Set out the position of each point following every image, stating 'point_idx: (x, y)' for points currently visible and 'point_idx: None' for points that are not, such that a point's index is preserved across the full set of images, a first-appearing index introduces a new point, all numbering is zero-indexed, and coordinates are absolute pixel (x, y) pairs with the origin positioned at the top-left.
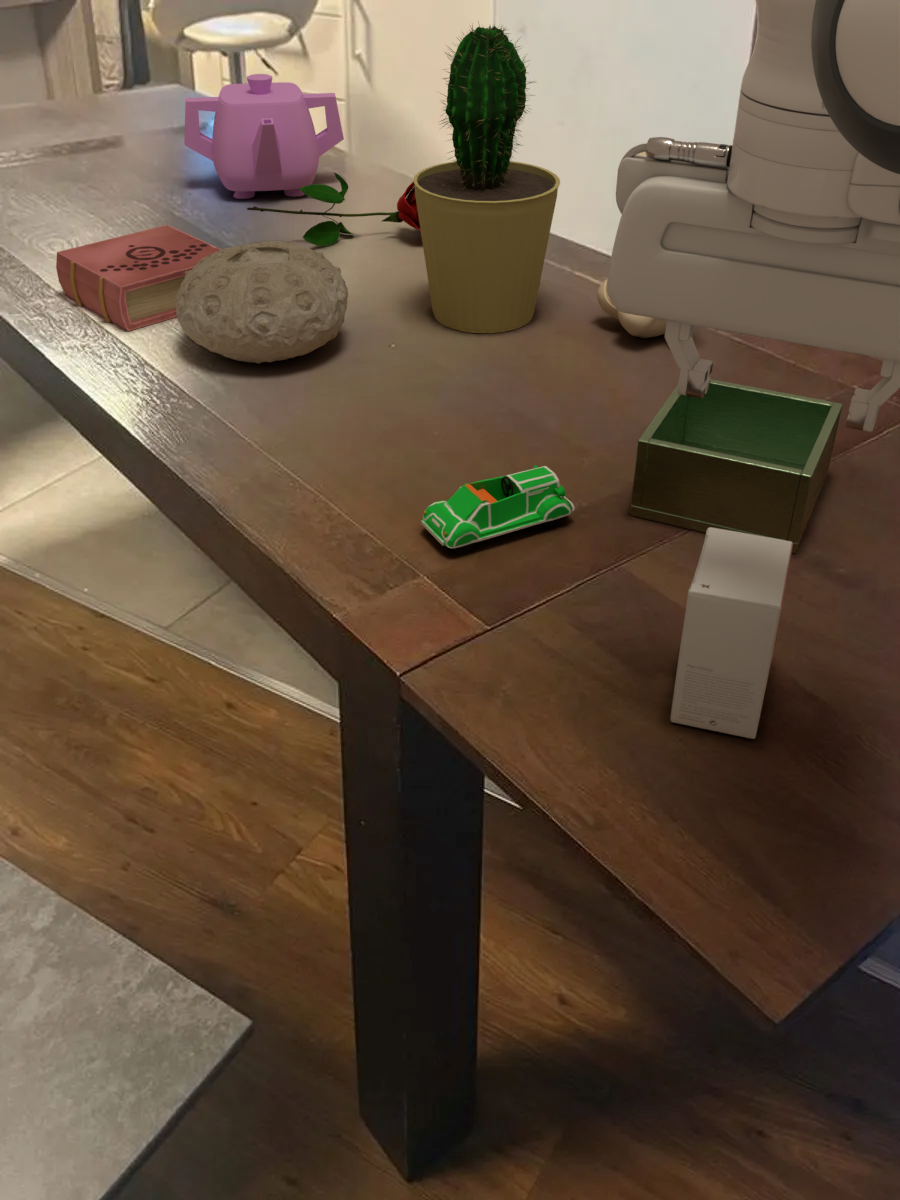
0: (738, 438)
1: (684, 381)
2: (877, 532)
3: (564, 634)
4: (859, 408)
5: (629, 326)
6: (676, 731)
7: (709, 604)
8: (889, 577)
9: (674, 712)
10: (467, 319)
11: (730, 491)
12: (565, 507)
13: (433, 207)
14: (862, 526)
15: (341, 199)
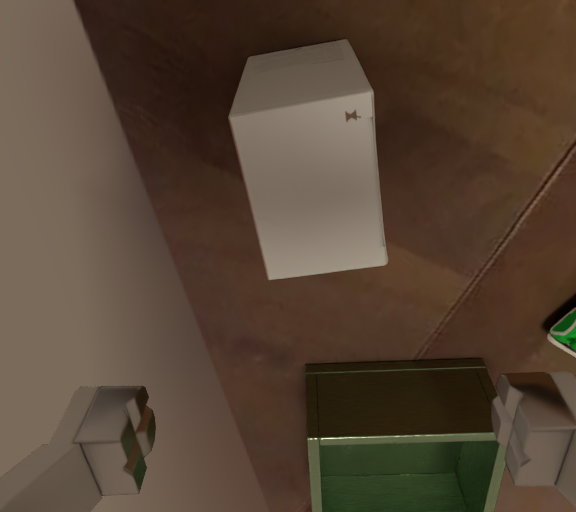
0: (404, 487)
1: (572, 397)
2: (245, 418)
3: (509, 138)
4: (100, 427)
5: None
6: (335, 28)
7: (335, 89)
8: (214, 366)
9: (344, 41)
10: None
11: (388, 403)
12: (560, 331)
13: None
14: (260, 421)
15: None
